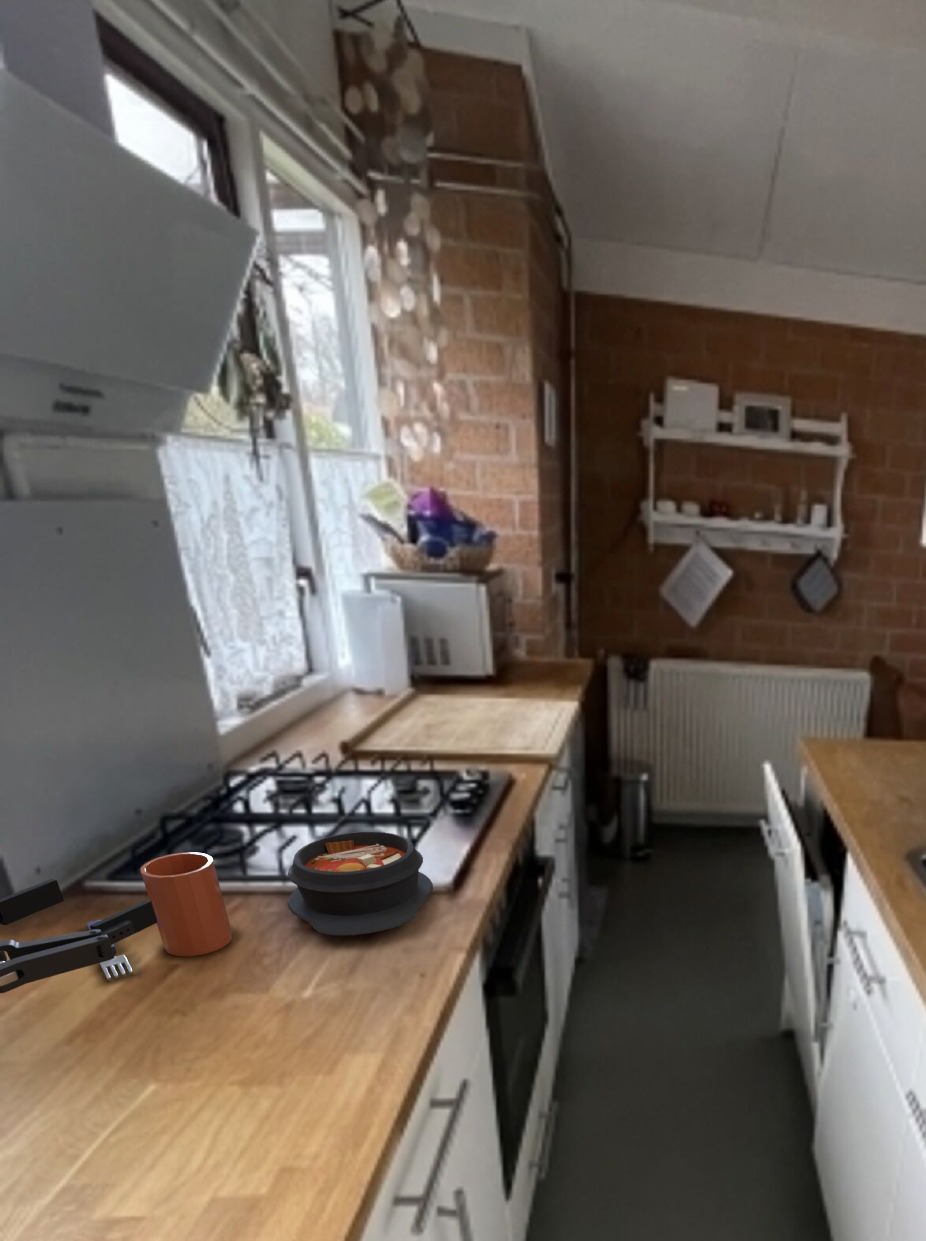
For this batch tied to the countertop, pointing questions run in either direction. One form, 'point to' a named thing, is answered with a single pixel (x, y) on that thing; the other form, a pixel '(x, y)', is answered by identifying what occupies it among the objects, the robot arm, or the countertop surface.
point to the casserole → (358, 883)
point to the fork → (113, 962)
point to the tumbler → (187, 903)
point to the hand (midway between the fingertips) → (104, 900)
